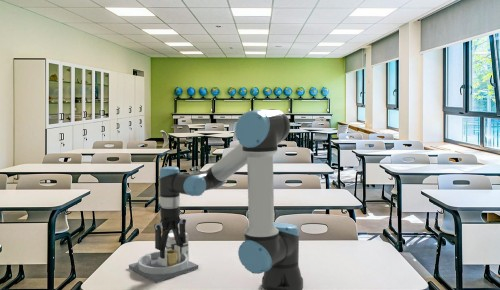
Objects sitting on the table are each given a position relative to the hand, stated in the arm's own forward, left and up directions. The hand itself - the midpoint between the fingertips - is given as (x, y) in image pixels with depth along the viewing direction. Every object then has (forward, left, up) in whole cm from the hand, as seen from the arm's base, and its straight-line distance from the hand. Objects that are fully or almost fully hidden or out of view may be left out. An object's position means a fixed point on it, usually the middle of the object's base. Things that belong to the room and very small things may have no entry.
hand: (171, 263), depth 183 cm
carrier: (+6, 0, -4) cm, 7 cm away
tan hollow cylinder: (0, 0, 0) cm, 1 cm away
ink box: (+9, -9, -4) cm, 13 cm away
